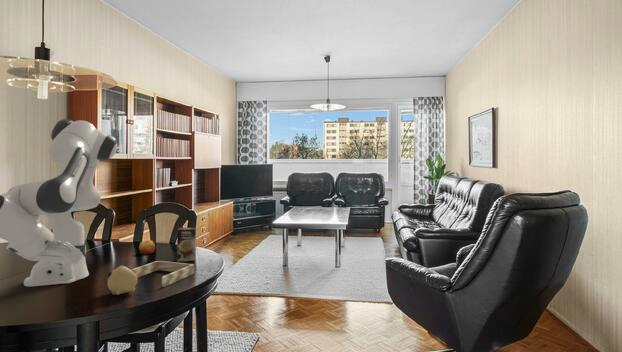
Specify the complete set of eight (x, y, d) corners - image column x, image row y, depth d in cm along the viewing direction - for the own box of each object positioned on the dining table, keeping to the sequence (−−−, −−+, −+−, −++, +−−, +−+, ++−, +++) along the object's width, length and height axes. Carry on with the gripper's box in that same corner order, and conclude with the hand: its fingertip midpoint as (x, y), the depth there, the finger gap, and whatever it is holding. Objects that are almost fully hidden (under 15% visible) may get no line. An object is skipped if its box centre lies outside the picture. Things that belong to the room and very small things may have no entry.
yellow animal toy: (130, 286, 145) (130, 259, 145) (141, 294, 137) (141, 266, 136) (102, 292, 138) (102, 264, 138) (112, 301, 130) (112, 271, 129)
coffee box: (176, 261, 183) (176, 229, 183) (177, 258, 190) (177, 227, 189) (195, 260, 186) (195, 229, 185) (196, 257, 192) (196, 226, 192)
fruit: (158, 248, 207) (155, 237, 202) (154, 258, 200) (150, 247, 196) (144, 248, 206) (141, 237, 202) (139, 258, 200) (135, 247, 195)
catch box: (164, 287, 145) (163, 277, 145) (123, 281, 151) (123, 272, 151) (194, 273, 164) (194, 264, 164) (157, 269, 170) (157, 260, 170)
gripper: (69, 233, 105) (98, 259, 115) (17, 230, 111) (49, 255, 121) (54, 252, 101) (86, 277, 111) (1, 248, 107) (36, 272, 117)
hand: (66, 265), depth 116 cm, fingers closed
